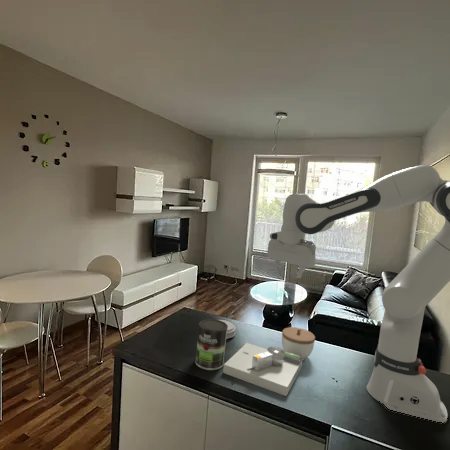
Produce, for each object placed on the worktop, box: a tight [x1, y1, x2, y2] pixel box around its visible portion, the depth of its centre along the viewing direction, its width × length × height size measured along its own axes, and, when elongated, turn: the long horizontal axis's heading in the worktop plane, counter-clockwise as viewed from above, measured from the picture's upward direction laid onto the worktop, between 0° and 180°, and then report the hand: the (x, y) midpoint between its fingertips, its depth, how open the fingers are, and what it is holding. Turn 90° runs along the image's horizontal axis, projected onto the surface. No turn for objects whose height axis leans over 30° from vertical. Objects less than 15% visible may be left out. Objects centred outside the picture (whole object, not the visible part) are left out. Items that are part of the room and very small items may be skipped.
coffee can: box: [194, 318, 228, 371], centre depth 112 cm, size 10×10×14 cm
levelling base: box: [222, 342, 303, 397], centre depth 111 cm, size 22×20×5 cm
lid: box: [218, 319, 237, 340], centre depth 138 cm, size 13×13×5 cm
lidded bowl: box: [281, 326, 316, 361], centre depth 124 cm, size 13×13×11 cm
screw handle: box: [252, 346, 284, 371], centre depth 109 cm, size 13×6×4 cm, turn 129°
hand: (288, 274), depth 117 cm, fingers open, 8 cm apart
